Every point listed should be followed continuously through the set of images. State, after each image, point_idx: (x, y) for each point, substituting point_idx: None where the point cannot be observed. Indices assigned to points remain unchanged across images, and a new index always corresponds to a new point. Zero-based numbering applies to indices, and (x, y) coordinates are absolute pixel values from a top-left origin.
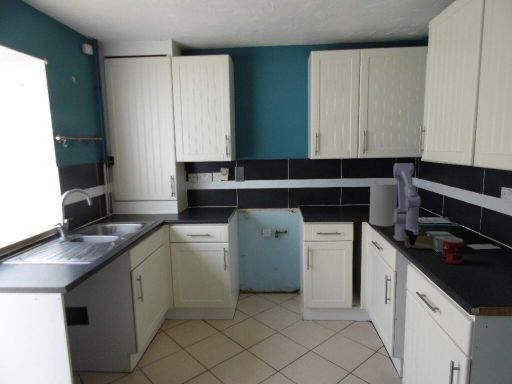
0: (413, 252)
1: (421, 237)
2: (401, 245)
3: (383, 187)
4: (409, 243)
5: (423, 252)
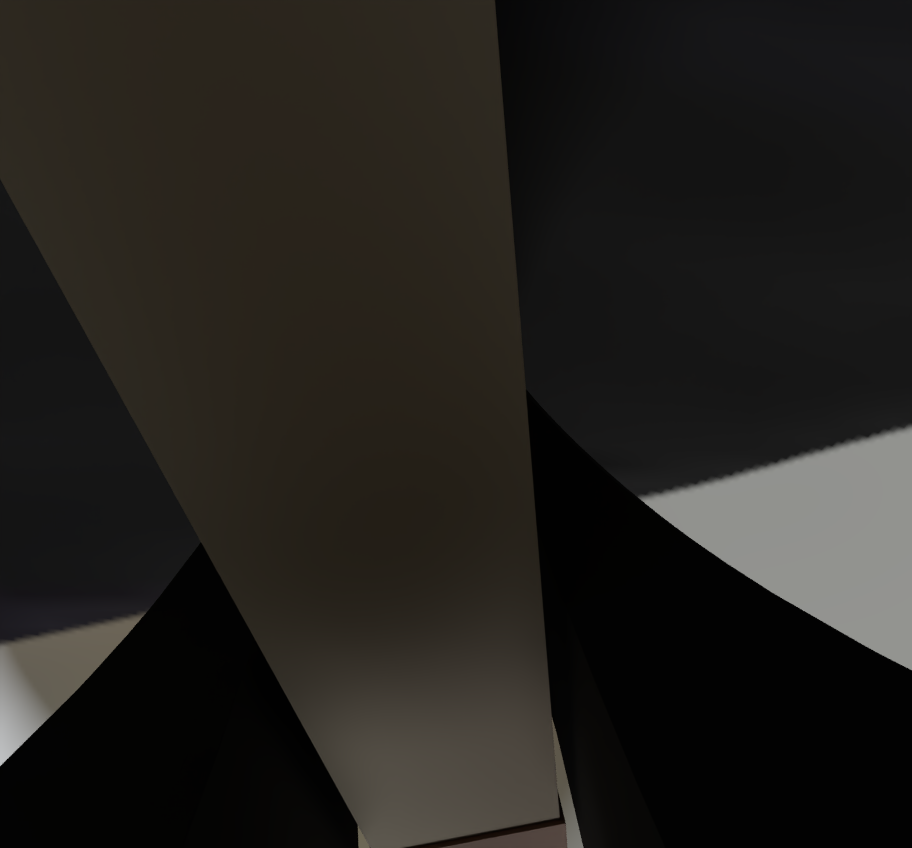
0: (772, 345)
1: (510, 231)
2: None
3: None
4: None
5: (810, 33)
